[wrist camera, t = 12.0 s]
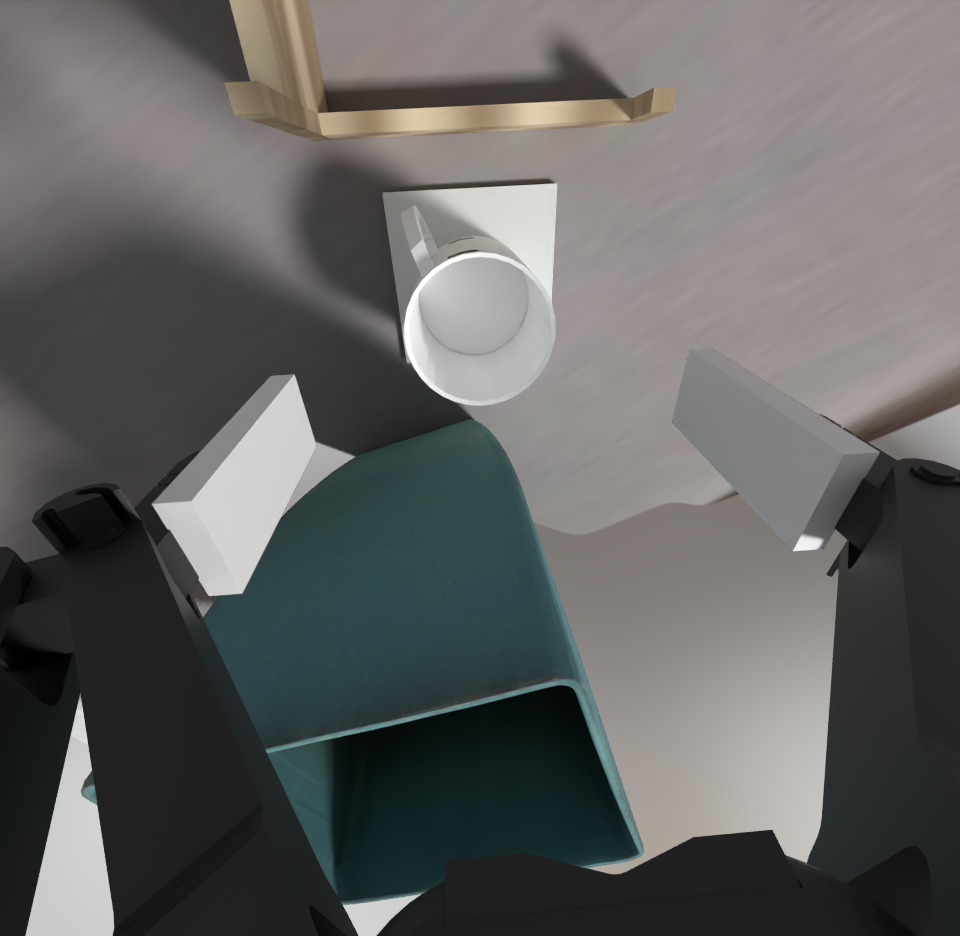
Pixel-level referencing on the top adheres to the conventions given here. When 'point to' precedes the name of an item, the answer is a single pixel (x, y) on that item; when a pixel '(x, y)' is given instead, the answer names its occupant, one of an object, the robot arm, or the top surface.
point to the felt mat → (475, 227)
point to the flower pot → (421, 674)
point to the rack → (304, 112)
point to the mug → (475, 317)
